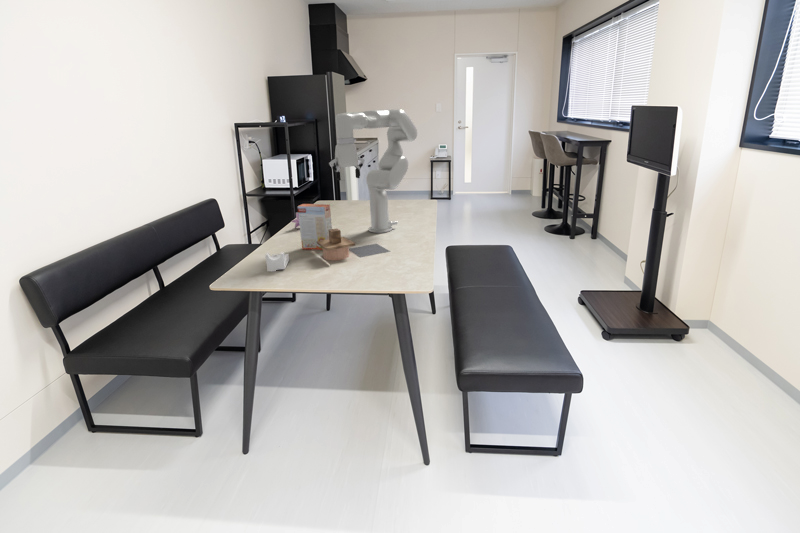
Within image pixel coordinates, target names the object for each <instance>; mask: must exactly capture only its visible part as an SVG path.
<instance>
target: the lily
mask: <svg viewBox="0 0 800 533" xmlns="http://www.w3.org/2000/svg"><path fill="white" fill-rule="evenodd" d="M290 223H293V224H294V228H295V229H296V228H298V227H300V225H299V215H298V211H297V212H295V219H293V220H291V221H290Z"/></svg>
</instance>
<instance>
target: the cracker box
mask: <svg viewBox="0 0 800 533" xmlns="http://www.w3.org/2000/svg"><path fill="white" fill-rule="evenodd" d="M297 212H298V215H299V225H300V226H299V233H300V240H301V248H302V250H306V251H307V250H311V251H312V250H318V251H319V250H322V251H323V248H322V247H321V246H319V245H318V244H317V242H316V241H321V240H327V239H329V230H330V229H333V226H332V223H333V222H332V216H331V215H332V214H331V205H330V204H324V203H323V204H321V203H320V204H319V203H302V204H300V205H298V206H297Z"/></svg>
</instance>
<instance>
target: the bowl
mask: <svg viewBox="0 0 800 533" xmlns="http://www.w3.org/2000/svg"><path fill="white" fill-rule="evenodd" d="M349 249H350V247H344V248H339V249H333V250H328V251H326V250H325V249H324V248H323V250H322V253H323V254H322V255H323V259H325V260H326V261H340V260H341V261H342V260H345V259H347V258H349V257H350V251H349Z"/></svg>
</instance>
